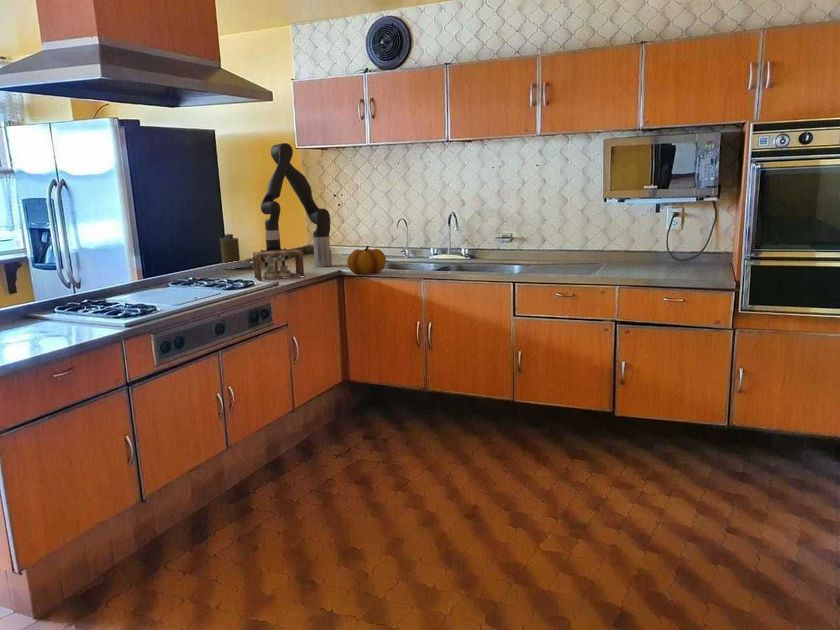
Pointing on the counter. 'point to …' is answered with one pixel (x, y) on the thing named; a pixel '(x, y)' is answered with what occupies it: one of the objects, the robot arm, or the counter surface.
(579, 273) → the counter surface
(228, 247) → the canister
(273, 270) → the tray
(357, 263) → the decorative pumpkin
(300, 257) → the wooden rack
